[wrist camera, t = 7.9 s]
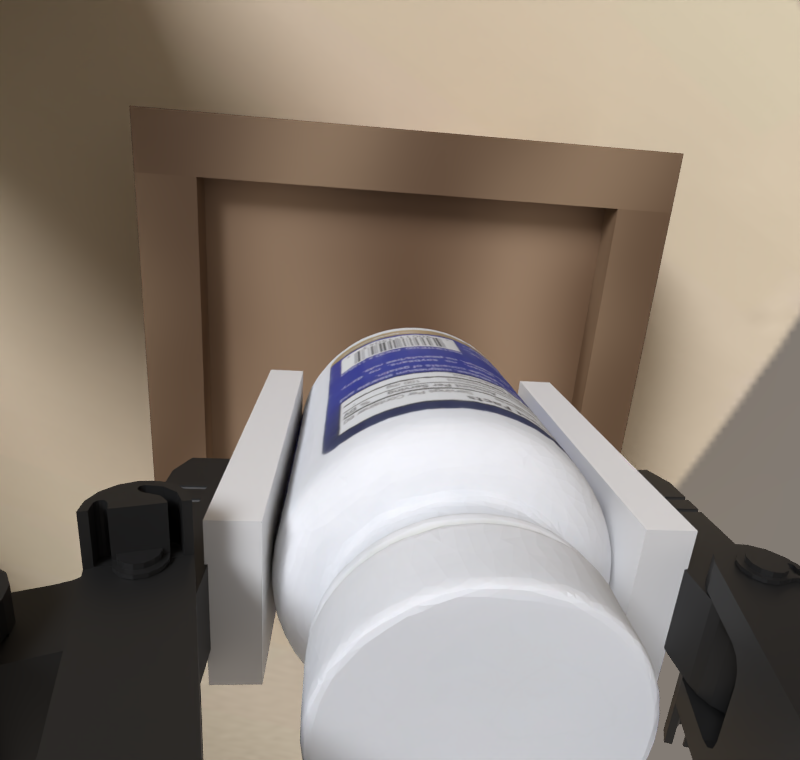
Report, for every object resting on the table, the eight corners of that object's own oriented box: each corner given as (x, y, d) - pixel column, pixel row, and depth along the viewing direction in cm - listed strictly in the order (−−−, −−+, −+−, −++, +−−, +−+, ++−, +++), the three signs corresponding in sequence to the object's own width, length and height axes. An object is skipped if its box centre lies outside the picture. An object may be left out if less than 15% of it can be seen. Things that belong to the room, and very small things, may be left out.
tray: (206, 498, 24) (162, 593, 18) (192, 128, 19) (129, 106, 14) (538, 506, 25) (590, 596, 20) (595, 162, 21) (683, 153, 15)
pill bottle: (445, 544, 16) (548, 948, 7) (268, 467, 15) (153, 841, 6) (550, 381, 15) (819, 646, 6) (365, 282, 13) (383, 442, 5)
